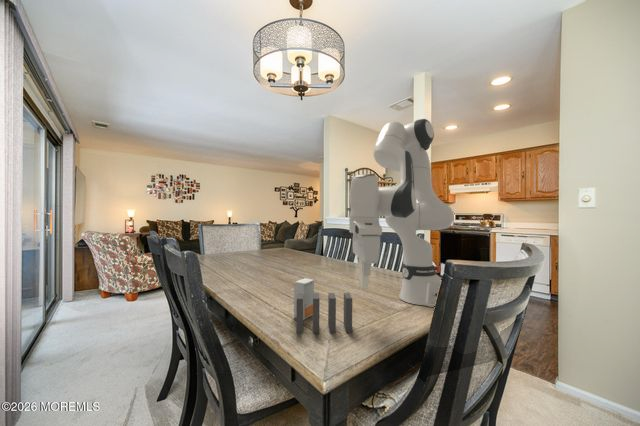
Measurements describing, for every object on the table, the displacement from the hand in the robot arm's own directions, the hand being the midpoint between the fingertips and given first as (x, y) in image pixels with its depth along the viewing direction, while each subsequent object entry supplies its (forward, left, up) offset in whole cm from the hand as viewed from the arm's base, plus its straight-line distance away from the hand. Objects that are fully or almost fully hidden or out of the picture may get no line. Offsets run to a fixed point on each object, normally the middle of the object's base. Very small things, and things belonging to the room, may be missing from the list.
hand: (363, 272), depth 77 cm
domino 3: (+9, -3, -17) cm, 19 cm away
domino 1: (+18, -5, -17) cm, 26 cm away
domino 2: (+14, -4, -17) cm, 22 cm away
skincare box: (+15, -14, -17) cm, 27 cm away
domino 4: (+5, -1, -17) cm, 17 cm away
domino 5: (0, 0, -4) cm, 4 cm away
